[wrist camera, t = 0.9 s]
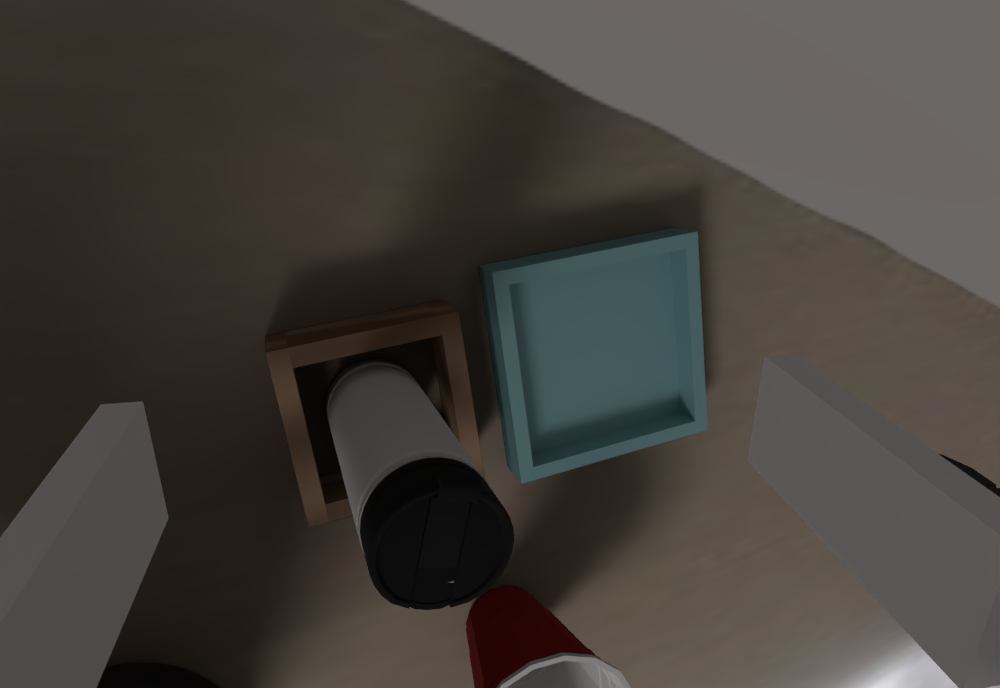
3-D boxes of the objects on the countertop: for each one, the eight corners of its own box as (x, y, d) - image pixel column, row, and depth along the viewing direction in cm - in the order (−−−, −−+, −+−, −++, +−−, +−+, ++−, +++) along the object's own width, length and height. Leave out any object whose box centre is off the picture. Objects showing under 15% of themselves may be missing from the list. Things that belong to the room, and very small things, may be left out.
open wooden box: (468, 454, 50) (484, 478, 46) (305, 499, 46) (309, 528, 43) (442, 299, 46) (458, 311, 42) (264, 336, 43) (265, 352, 39)
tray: (685, 416, 55) (707, 429, 52) (507, 466, 51) (521, 483, 48) (673, 227, 50) (697, 231, 48) (478, 265, 46) (492, 272, 44)
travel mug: (427, 357, 47) (534, 483, 28) (411, 448, 48) (504, 626, 30) (333, 346, 45) (384, 476, 26) (319, 442, 46) (358, 631, 28)
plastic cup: (433, 563, 51) (481, 674, 40) (568, 548, 54) (646, 646, 43) (426, 690, 53) (470, 827, 42) (556, 667, 57) (626, 789, 46)
